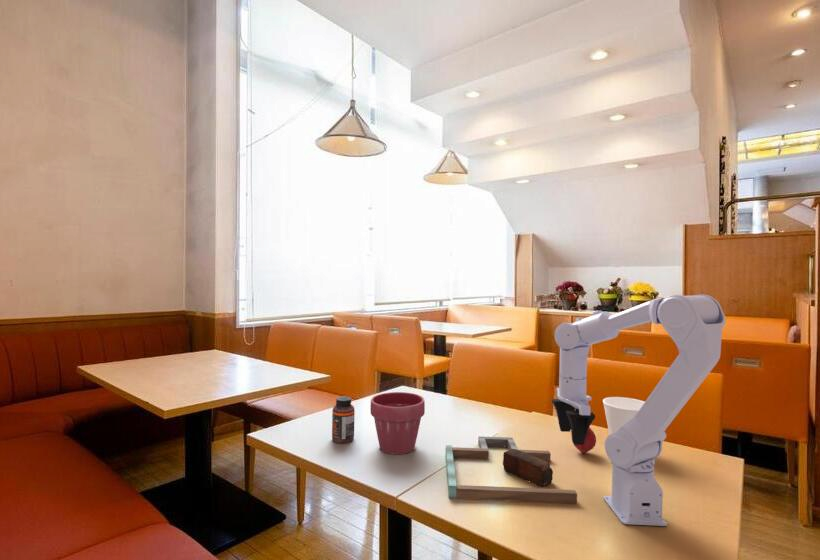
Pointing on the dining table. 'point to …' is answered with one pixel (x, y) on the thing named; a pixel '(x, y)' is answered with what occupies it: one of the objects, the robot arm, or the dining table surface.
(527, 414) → the dining table surface
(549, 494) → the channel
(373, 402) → the plant pot
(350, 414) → the supplement bottle
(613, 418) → the cup
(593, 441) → the onion
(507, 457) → the brick
